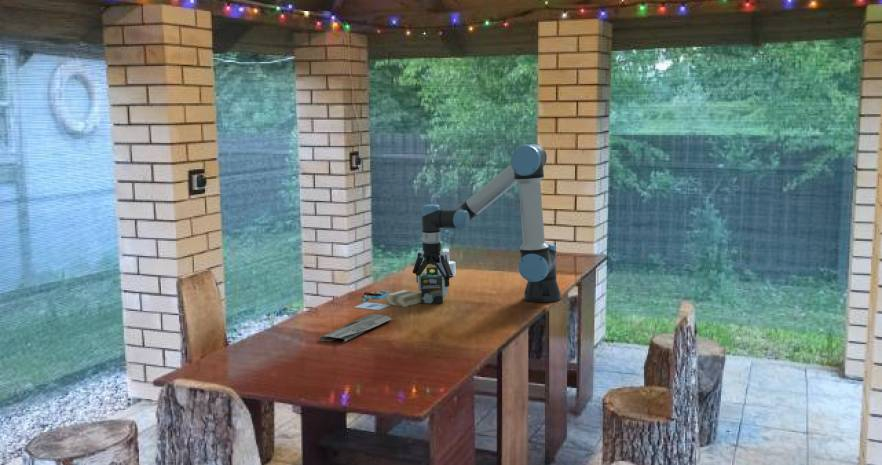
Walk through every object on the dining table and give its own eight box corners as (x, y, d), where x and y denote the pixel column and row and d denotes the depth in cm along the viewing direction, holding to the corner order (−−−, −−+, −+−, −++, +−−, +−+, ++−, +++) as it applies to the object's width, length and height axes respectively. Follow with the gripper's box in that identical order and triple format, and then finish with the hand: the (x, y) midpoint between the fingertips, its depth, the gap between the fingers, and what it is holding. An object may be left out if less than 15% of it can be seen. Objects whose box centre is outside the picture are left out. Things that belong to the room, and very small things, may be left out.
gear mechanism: (352, 301, 359) (370, 303, 355) (351, 289, 359) (369, 290, 354) (377, 292, 377) (395, 293, 372) (377, 280, 376) (395, 281, 371)
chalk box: (445, 298, 357) (444, 264, 355) (443, 303, 348) (442, 268, 346) (423, 299, 358) (422, 264, 356) (421, 304, 349) (419, 268, 347)
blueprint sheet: (390, 305, 348) (390, 304, 348) (378, 310, 340) (378, 309, 340) (366, 302, 354) (366, 302, 354) (353, 307, 346) (353, 306, 346)
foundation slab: (421, 302, 352) (421, 292, 352) (405, 306, 345) (404, 297, 344) (403, 299, 359) (403, 290, 358) (387, 303, 351) (387, 294, 351)
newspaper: (366, 319, 328) (366, 310, 327) (395, 322, 323) (395, 313, 322) (317, 343, 296) (317, 333, 296) (348, 346, 291) (348, 336, 291)
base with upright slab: (455, 276, 405) (455, 251, 403) (436, 276, 405) (436, 252, 403) (455, 272, 414) (455, 248, 412) (437, 273, 414) (436, 248, 412)
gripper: (403, 240, 355) (404, 290, 358) (449, 245, 339) (450, 297, 342) (415, 238, 361) (416, 287, 364) (460, 243, 345) (462, 294, 348)
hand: (433, 292), depth 353 cm, fingers open, 13 cm apart
